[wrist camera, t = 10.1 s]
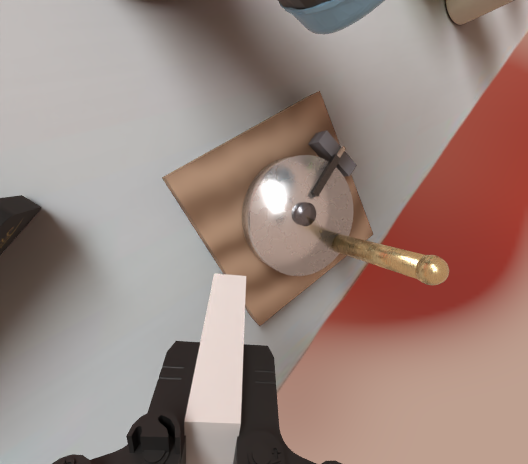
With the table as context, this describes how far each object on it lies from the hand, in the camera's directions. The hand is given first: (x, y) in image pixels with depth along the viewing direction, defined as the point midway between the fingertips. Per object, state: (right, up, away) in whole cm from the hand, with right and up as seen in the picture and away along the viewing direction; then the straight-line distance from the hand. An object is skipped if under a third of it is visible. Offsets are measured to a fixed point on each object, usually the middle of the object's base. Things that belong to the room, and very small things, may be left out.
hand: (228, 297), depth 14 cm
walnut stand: (+4, +7, +29) cm, 30 cm away
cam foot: (+7, +6, +27) cm, 28 cm away
